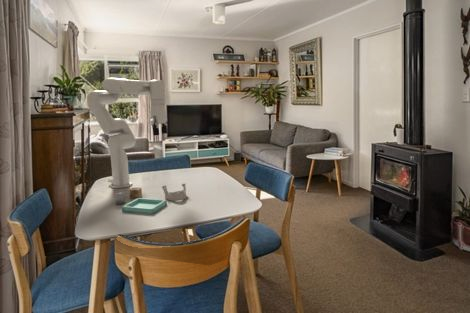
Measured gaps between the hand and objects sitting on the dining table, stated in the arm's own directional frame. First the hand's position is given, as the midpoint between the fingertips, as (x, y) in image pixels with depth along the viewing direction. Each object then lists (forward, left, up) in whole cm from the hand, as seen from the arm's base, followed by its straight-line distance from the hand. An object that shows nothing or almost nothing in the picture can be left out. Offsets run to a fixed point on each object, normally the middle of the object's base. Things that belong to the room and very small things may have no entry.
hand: (160, 134), depth 182 cm
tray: (+5, -29, -33) cm, 44 cm away
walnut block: (-9, -15, -33) cm, 37 cm away
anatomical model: (+13, -11, -33) cm, 37 cm away
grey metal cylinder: (-11, -26, -33) cm, 43 cm away
